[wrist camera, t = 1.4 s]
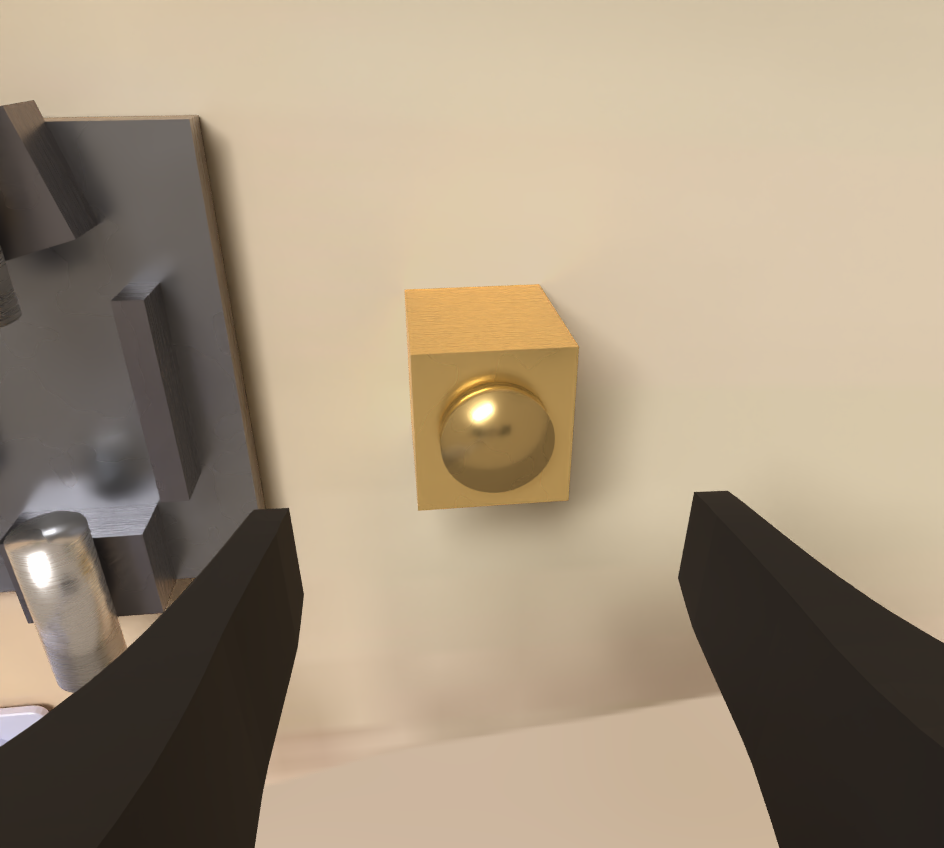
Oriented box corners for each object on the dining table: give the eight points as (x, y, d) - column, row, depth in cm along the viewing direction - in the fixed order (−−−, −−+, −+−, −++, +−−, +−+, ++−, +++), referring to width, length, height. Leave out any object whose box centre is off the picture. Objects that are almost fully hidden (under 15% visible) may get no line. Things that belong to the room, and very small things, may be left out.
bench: (276, 576, 25) (257, 677, 21) (-23, 598, 25) (-103, 708, 20) (191, 71, 18) (135, 80, 14) (-248, 76, 17) (-444, 88, 13)
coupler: (533, 414, 24) (573, 513, 19) (411, 421, 23) (419, 524, 18) (538, 283, 22) (585, 356, 17) (404, 289, 21) (411, 365, 16)
